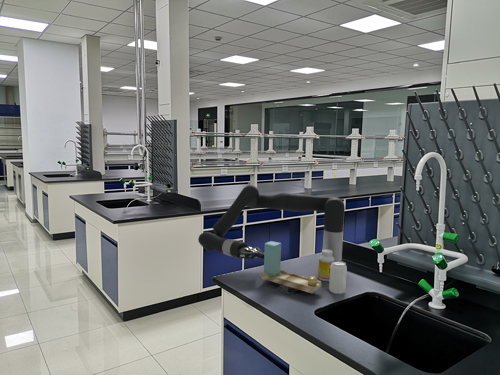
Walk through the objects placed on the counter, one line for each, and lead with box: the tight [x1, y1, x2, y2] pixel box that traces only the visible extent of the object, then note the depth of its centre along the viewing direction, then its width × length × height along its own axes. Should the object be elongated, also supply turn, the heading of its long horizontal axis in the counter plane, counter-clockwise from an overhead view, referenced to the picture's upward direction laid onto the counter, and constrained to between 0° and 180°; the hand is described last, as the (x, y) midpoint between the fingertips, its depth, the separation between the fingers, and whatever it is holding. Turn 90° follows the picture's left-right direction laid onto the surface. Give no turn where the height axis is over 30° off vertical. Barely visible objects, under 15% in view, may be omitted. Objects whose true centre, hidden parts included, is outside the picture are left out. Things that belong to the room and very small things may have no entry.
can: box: [328, 260, 348, 295], centre depth 146 cm, size 6×6×12 cm
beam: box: [260, 269, 322, 294], centre depth 149 cm, size 24×8×2 cm, turn 53°
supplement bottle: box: [317, 249, 335, 282], centre depth 159 cm, size 7×7×13 cm
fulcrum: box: [275, 284, 299, 296], centre depth 149 cm, size 7×11×2 cm, turn 143°
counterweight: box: [307, 275, 318, 287], centre depth 142 cm, size 4×4×3 cm
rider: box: [263, 240, 282, 276], centre depth 153 cm, size 5×5×13 cm
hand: (265, 256), depth 155 cm, fingers closed
